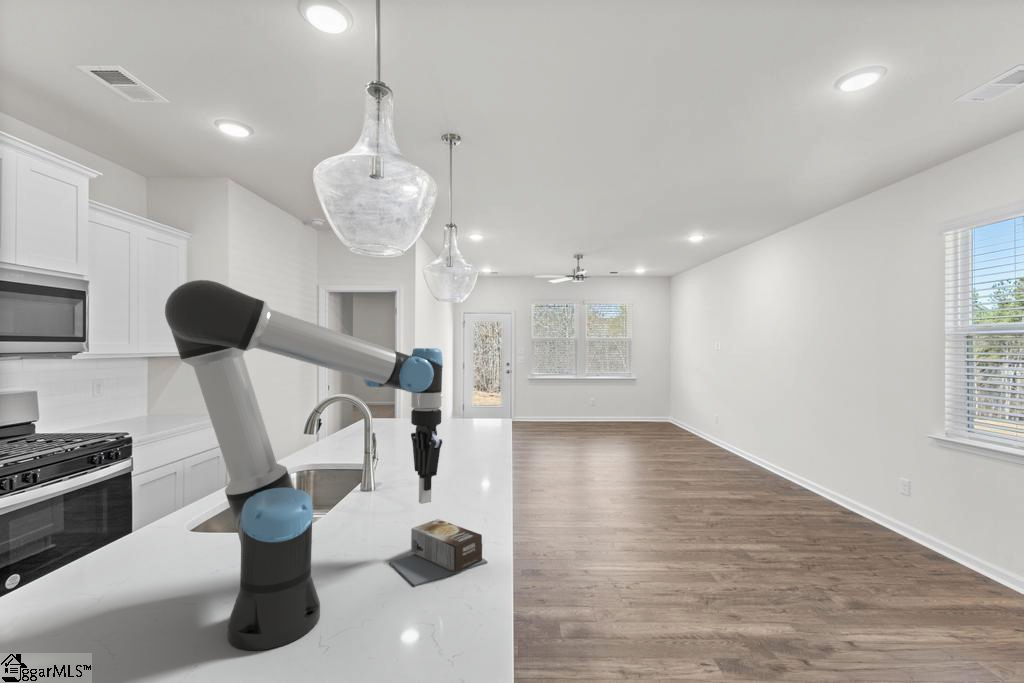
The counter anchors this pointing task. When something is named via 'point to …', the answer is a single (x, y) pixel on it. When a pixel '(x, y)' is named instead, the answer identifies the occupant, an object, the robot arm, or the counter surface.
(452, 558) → the coffee box
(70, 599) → the counter surface
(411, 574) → the mat
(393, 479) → the counter surface
